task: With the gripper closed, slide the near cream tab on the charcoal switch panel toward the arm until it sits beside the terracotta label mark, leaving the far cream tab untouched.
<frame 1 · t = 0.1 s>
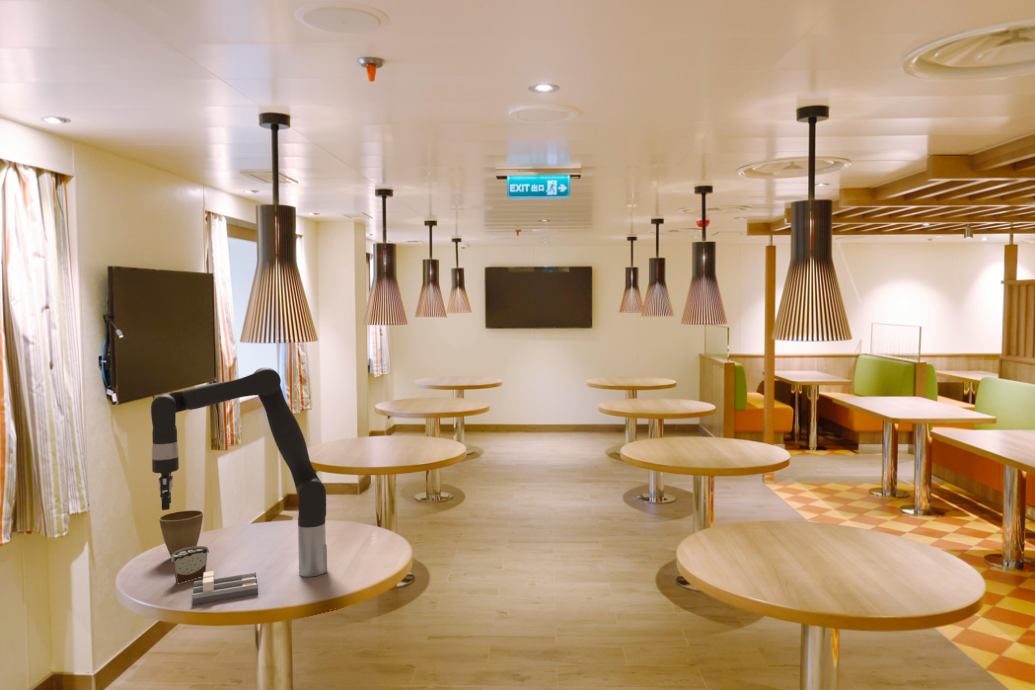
hand: (166, 506, 207), 29 cm above the table, tool pointing down, fingers open, 8 cm apart
switch panel: (225, 592, 210), on the table
near tab: (208, 586, 205), point 4 cm above the table, slide at 0.0 cm
far tab: (208, 579, 210), point 4 cm above the table, slide at 0.0 cm
plant pot: (182, 557, 245), on the table
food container: (187, 578, 223), on the table
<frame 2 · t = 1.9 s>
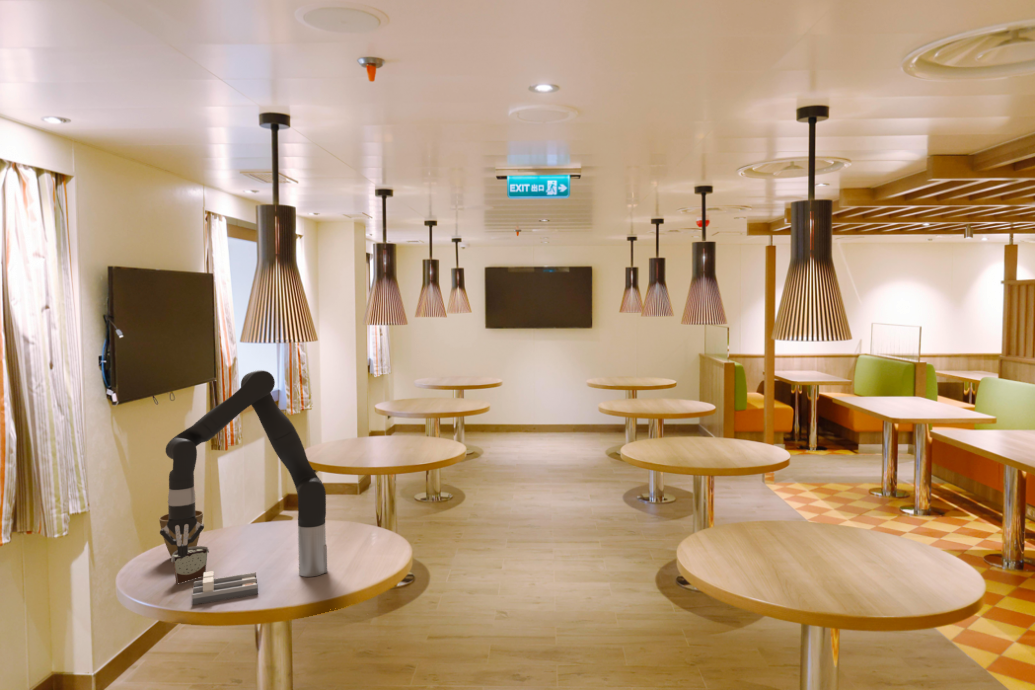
hand: (182, 556, 202), 15 cm above the table, tool pointing down, fingers closed
nothing on the table moved.
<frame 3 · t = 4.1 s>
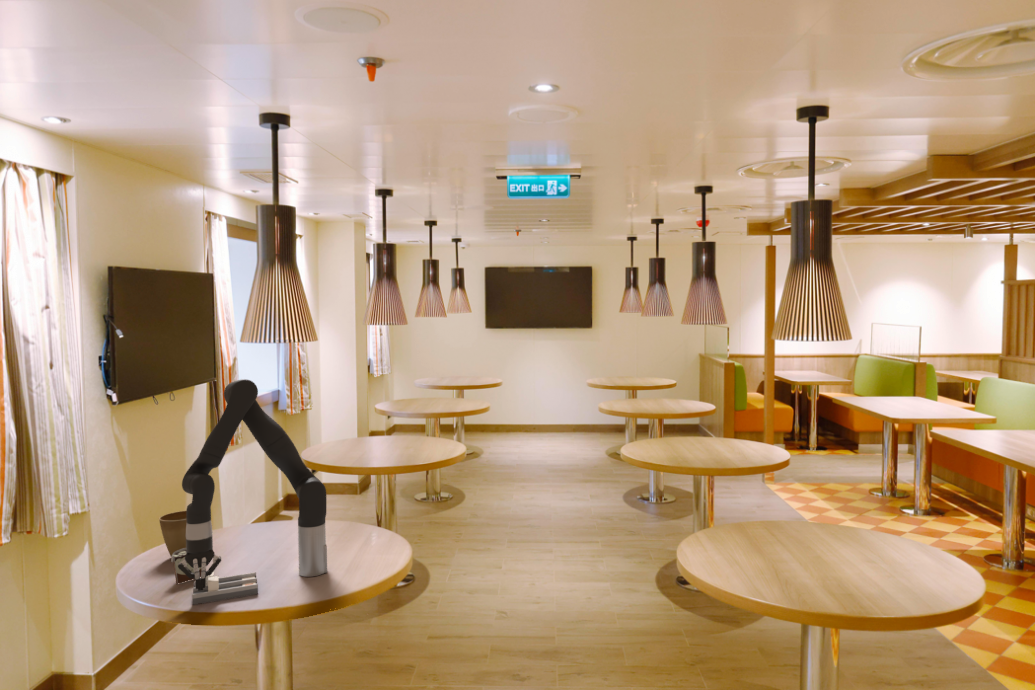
hand: (200, 589, 204), 3 cm above the table, tool pointing down, fingers closed
near tab: (213, 585, 205), point 4 cm above the table, slide at 1.5 cm, touching gripper
everything else where it was.
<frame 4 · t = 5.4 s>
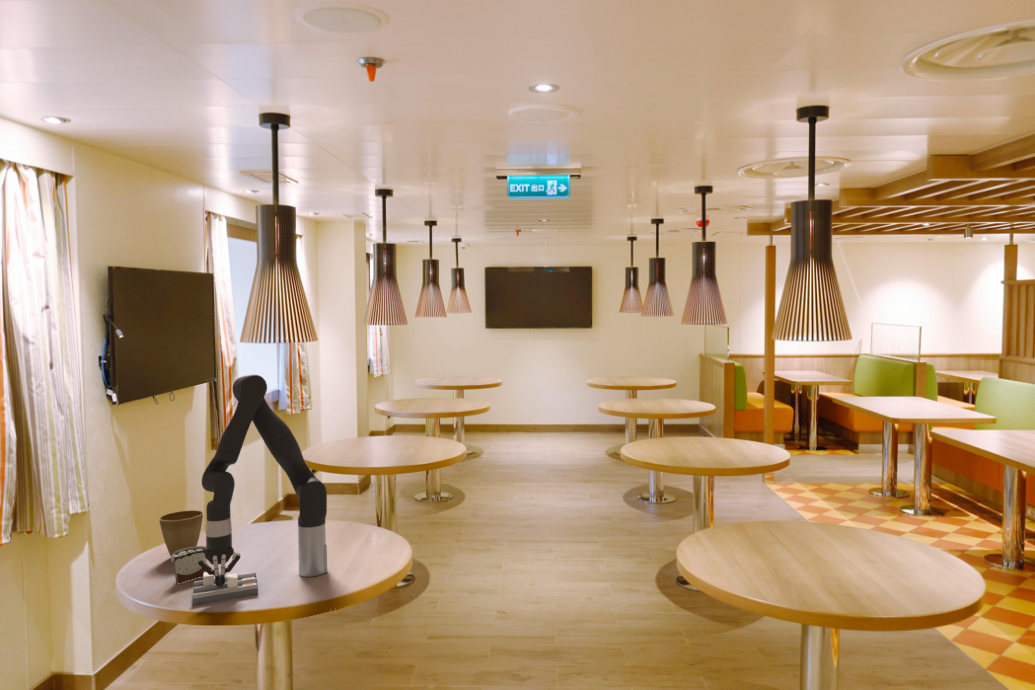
hand: (220, 586, 206), 3 cm above the table, tool pointing down, fingers closed
near tab: (232, 582, 208), point 4 cm above the table, slide at 7.1 cm, touching gripper
everything else where it was.
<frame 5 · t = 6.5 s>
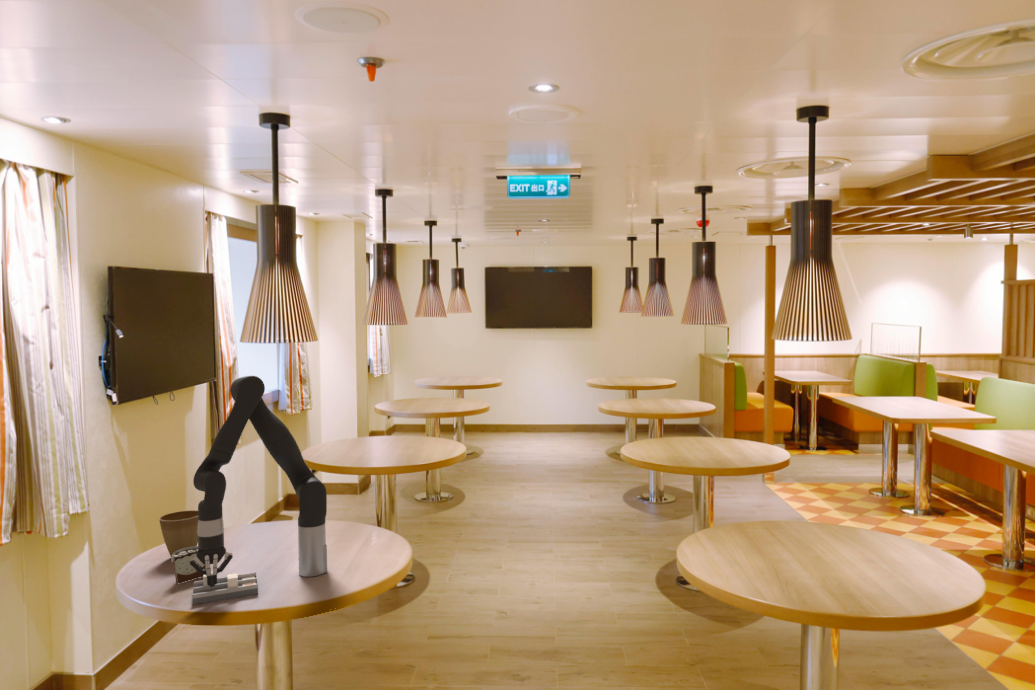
hand: (212, 586, 205), 4 cm above the table, tool pointing down, fingers closed
near tab: (232, 582, 208), point 4 cm above the table, slide at 7.1 cm
everything else where it was.
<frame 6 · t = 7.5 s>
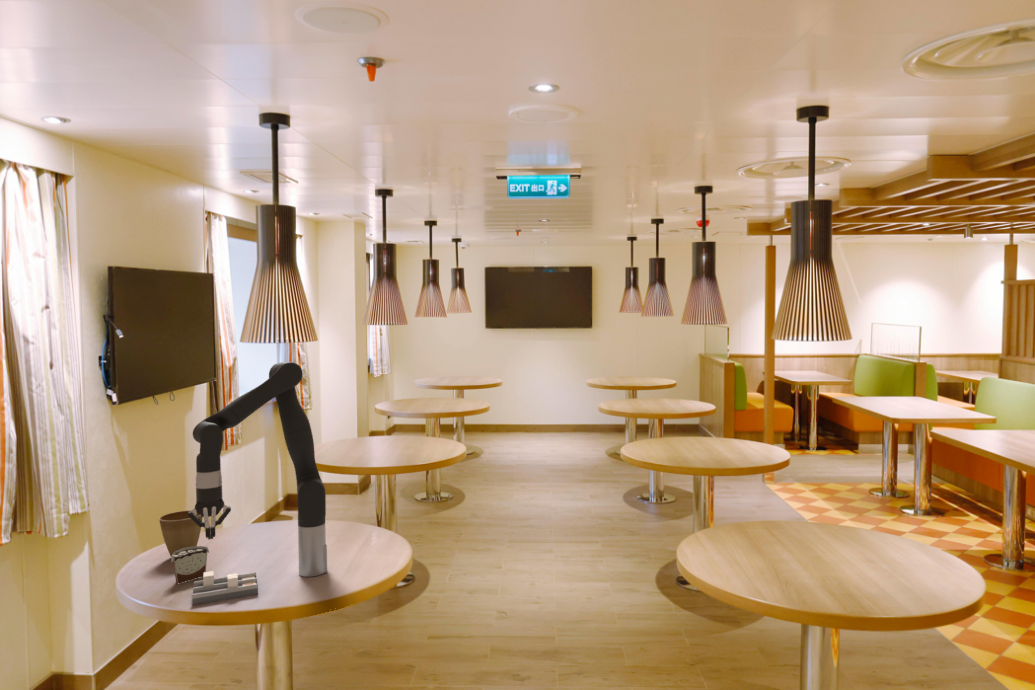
hand: (210, 538, 205), 19 cm above the table, tool pointing down, fingers closed
nothing on the table moved.
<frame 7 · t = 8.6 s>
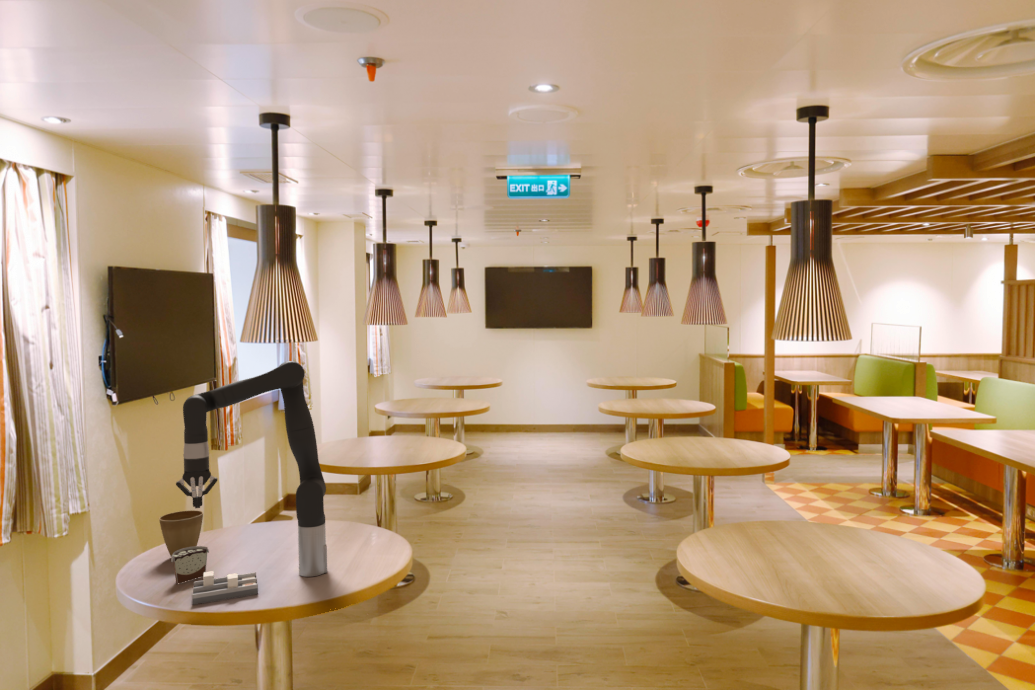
hand: (197, 507, 213), 27 cm above the table, tool pointing down, fingers closed
nothing on the table moved.
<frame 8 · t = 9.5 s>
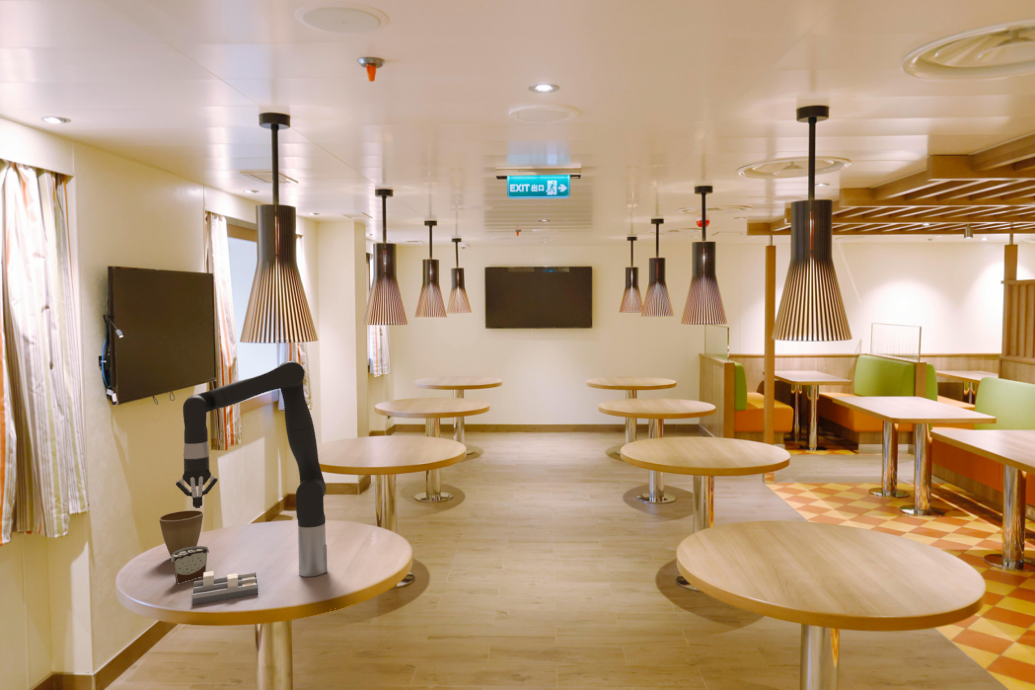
hand: (197, 507, 213), 27 cm above the table, tool pointing down, fingers closed
nothing on the table moved.
at the end: near tab slide at 7.1 cm; far tab slide at 0.0 cm; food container moved 0.2 cm from its start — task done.
